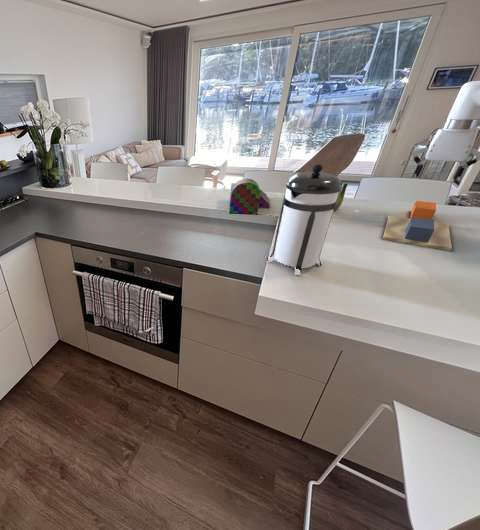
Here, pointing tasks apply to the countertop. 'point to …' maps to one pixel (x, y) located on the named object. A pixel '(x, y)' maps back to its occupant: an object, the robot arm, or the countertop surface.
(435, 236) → the tan wooden board
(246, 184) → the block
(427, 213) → the orange rectangular block
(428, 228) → the blue gray block
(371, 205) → the countertop surface
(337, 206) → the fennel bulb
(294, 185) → the coffee press
